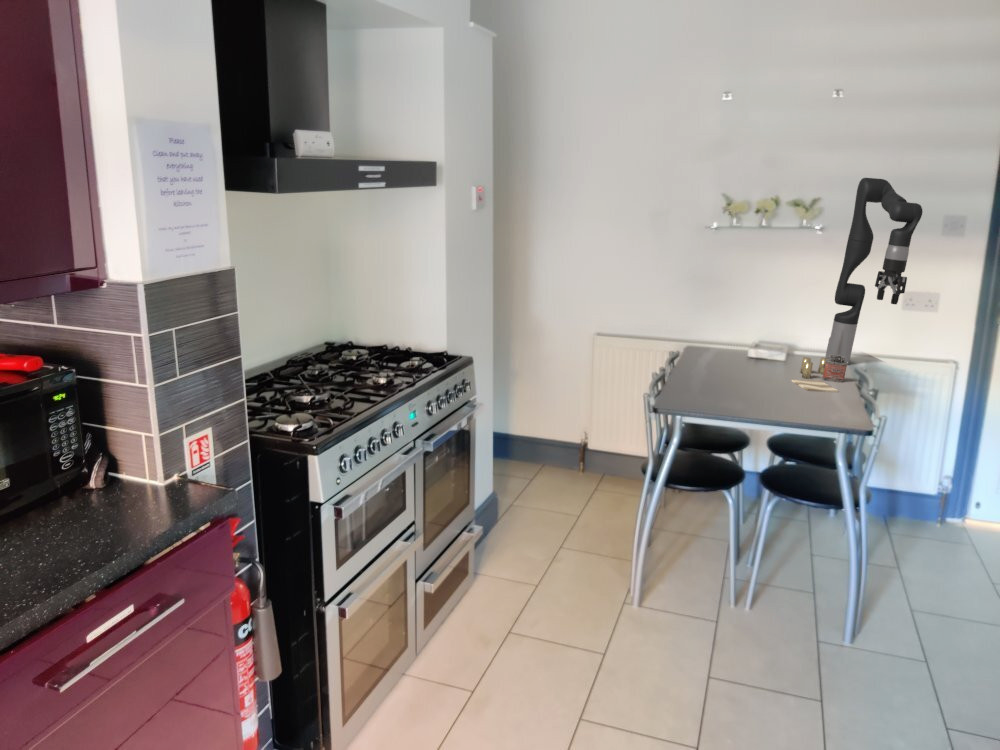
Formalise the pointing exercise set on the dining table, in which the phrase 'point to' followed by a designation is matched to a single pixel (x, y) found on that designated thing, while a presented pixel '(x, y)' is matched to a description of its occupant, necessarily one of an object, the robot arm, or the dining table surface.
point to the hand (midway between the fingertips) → (886, 301)
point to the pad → (814, 385)
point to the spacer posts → (807, 367)
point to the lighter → (835, 369)
